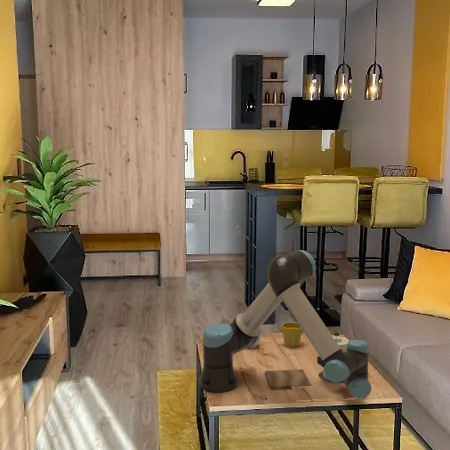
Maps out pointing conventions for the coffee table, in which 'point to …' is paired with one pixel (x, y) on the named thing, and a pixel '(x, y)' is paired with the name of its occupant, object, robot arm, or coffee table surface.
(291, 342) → the plant pot
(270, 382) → the cutting board
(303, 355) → the coffee table surface
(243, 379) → the coffee table surface
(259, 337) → the lidded jar
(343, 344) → the towel roll
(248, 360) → the coffee table surface
